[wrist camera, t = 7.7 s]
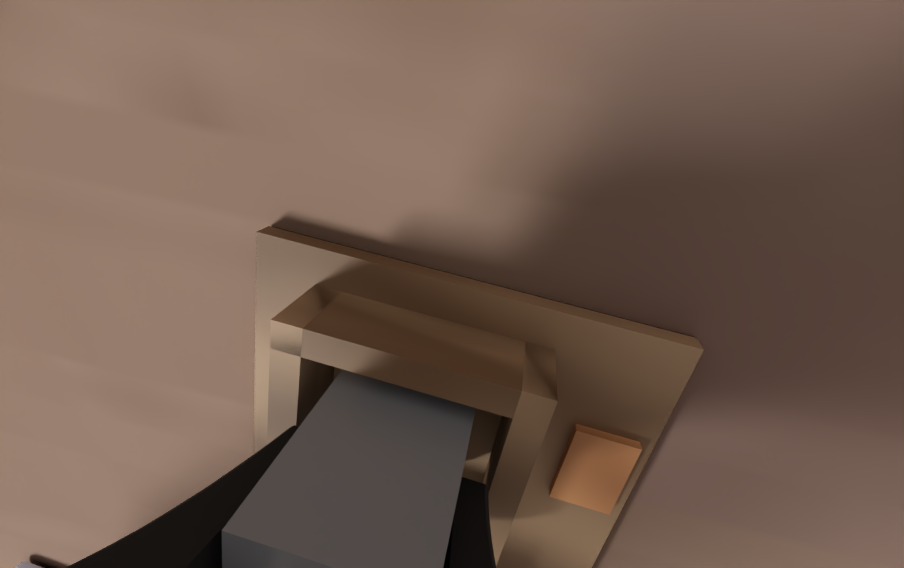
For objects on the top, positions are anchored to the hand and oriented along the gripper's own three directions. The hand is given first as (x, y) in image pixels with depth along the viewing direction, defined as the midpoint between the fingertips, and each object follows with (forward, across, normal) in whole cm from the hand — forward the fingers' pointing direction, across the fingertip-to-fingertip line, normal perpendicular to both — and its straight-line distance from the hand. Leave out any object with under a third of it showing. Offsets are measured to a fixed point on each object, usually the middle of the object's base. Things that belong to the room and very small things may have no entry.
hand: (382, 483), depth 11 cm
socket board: (+3, -1, +4) cm, 6 cm away
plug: (+2, 0, 0) cm, 2 cm away
